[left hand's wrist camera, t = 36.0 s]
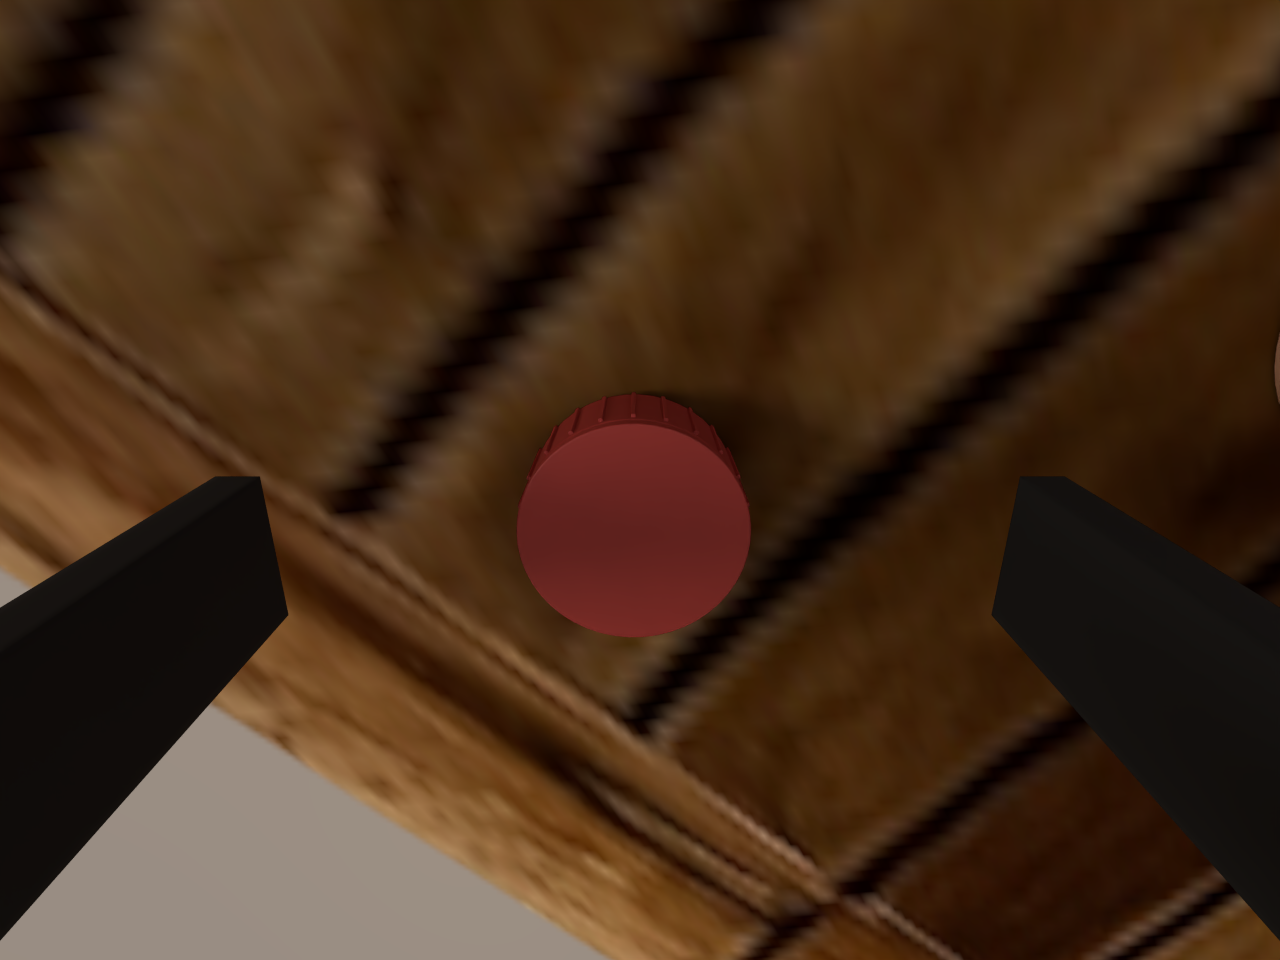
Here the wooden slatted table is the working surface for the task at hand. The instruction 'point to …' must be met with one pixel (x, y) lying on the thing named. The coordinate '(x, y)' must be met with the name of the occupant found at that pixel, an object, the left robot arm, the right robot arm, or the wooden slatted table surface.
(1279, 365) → the bottle
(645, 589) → the cap
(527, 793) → the wooden slatted table surface
